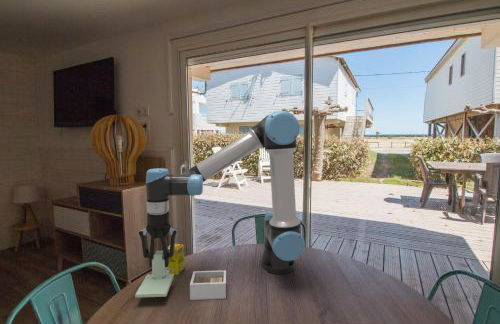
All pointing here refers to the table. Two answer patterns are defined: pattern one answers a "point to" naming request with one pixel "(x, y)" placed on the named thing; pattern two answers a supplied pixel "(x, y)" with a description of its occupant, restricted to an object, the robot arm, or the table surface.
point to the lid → (156, 280)
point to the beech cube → (216, 280)
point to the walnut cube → (201, 280)
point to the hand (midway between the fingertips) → (159, 275)
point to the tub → (208, 285)
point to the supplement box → (176, 260)
